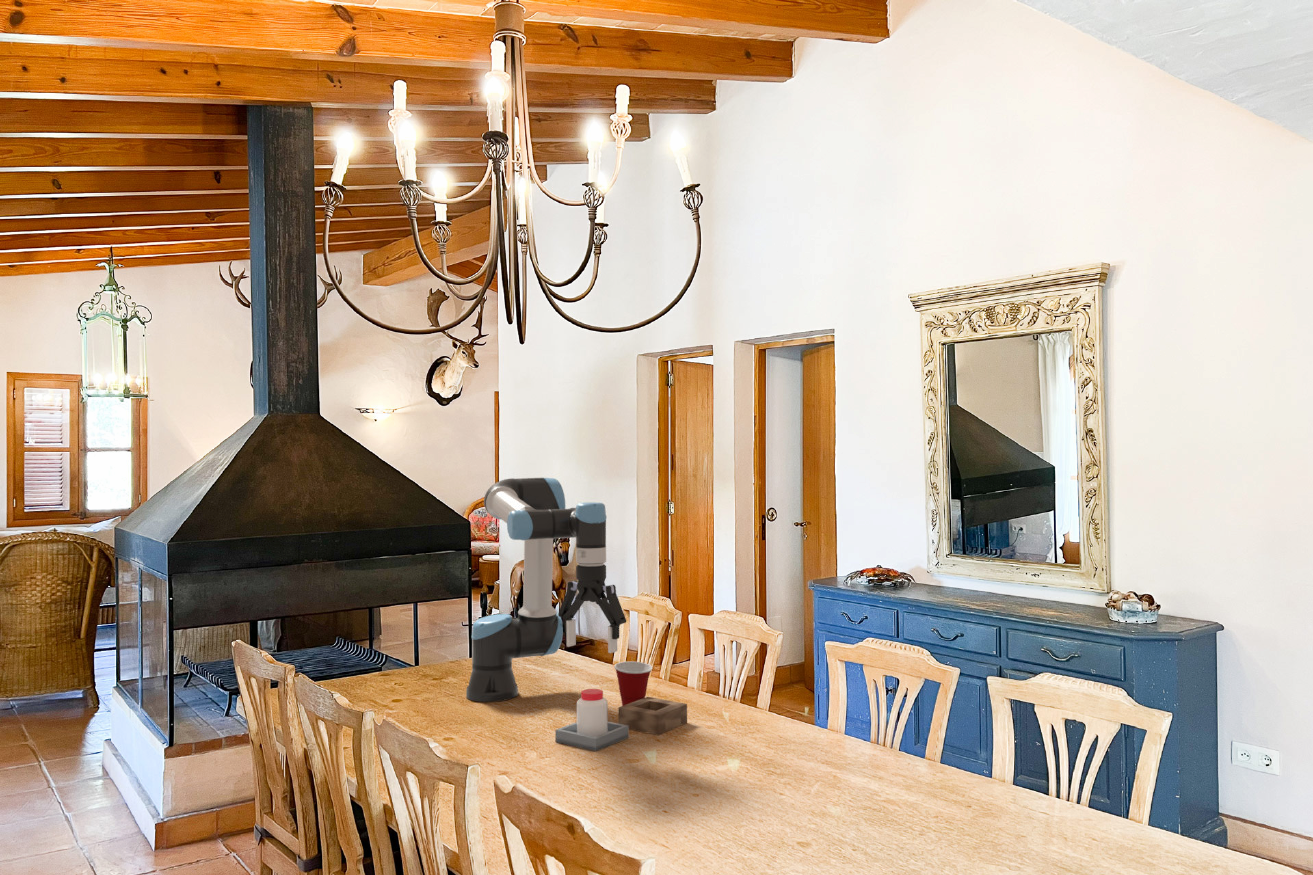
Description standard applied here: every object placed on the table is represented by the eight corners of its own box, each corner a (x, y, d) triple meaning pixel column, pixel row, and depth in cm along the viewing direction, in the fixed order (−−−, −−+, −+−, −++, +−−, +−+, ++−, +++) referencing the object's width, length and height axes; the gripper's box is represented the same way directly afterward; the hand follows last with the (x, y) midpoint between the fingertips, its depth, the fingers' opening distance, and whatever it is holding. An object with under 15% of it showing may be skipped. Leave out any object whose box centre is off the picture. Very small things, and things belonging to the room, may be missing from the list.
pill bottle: (609, 730, 235) (609, 687, 235) (605, 740, 227) (605, 695, 228) (579, 730, 236) (579, 687, 236) (574, 739, 228) (574, 695, 228)
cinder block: (618, 726, 242) (618, 707, 242) (647, 714, 253) (647, 696, 253) (658, 734, 235) (658, 715, 235) (687, 722, 245) (687, 703, 245)
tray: (555, 741, 230) (555, 729, 230) (589, 728, 240) (589, 717, 240) (595, 751, 222) (595, 738, 222) (628, 737, 233) (628, 725, 233)
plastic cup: (634, 715, 252) (634, 671, 252) (606, 708, 259) (606, 665, 260) (660, 707, 260) (660, 664, 261) (632, 700, 268) (632, 659, 268)
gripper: (544, 562, 236) (544, 645, 236) (621, 569, 222) (621, 657, 221) (563, 559, 242) (564, 640, 242) (639, 565, 228) (640, 652, 227)
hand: (591, 648), depth 232 cm, fingers open, 13 cm apart
